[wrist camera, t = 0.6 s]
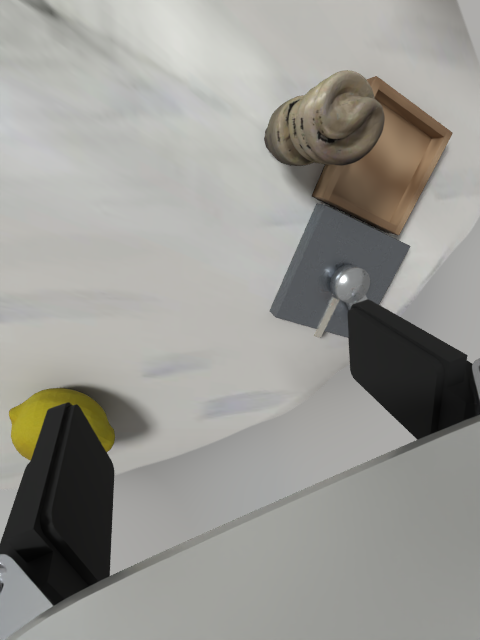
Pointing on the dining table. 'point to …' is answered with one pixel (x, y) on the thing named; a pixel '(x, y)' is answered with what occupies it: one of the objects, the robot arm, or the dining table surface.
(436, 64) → the dining table surface
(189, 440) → the dining table surface
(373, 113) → the light bulb
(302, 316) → the crank base
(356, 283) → the crank
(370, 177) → the tray
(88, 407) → the lemon
